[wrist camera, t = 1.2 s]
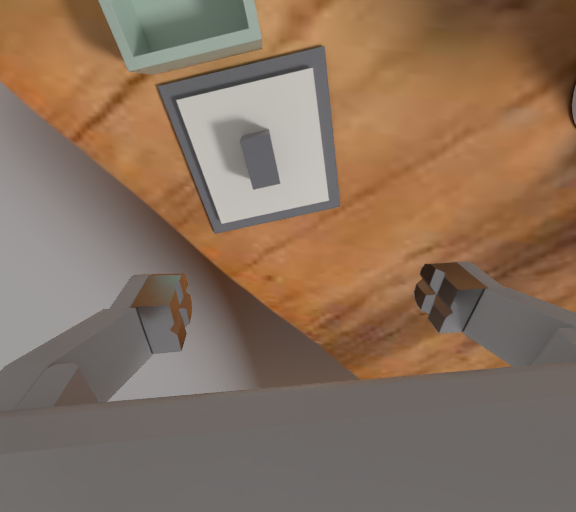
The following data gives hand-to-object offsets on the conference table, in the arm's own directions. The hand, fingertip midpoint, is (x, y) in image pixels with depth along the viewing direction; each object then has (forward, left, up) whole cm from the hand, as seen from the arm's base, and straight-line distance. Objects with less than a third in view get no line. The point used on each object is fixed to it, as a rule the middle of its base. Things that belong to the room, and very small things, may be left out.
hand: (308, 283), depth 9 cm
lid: (+2, 0, -25) cm, 26 cm away
